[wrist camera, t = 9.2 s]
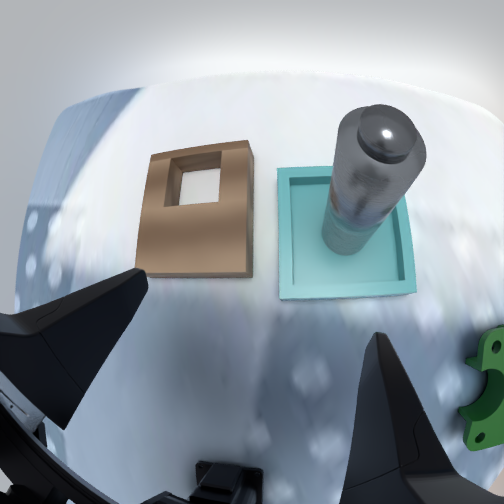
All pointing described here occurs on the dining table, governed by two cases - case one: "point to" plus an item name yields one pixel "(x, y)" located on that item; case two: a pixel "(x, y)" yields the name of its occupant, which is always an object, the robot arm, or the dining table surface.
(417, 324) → the dining table surface
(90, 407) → the dining table surface
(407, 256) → the tray
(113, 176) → the dining table surface
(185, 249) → the socket block
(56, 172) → the dining table surface
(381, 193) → the grey capped bottle
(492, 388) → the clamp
